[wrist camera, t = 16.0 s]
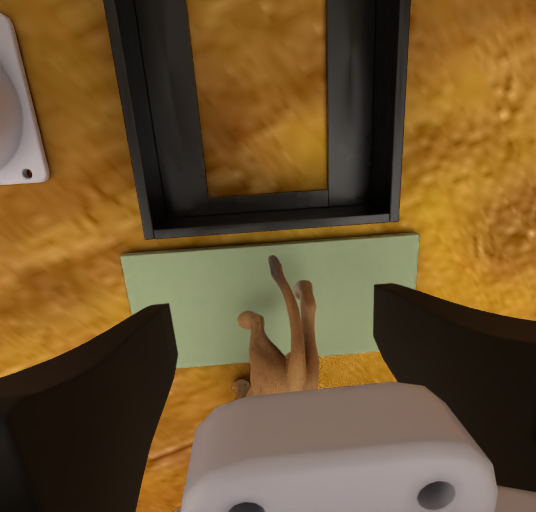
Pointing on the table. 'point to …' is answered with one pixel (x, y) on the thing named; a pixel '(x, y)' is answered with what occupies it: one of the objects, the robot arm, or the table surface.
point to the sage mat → (269, 292)
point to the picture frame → (189, 131)
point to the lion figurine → (268, 355)
